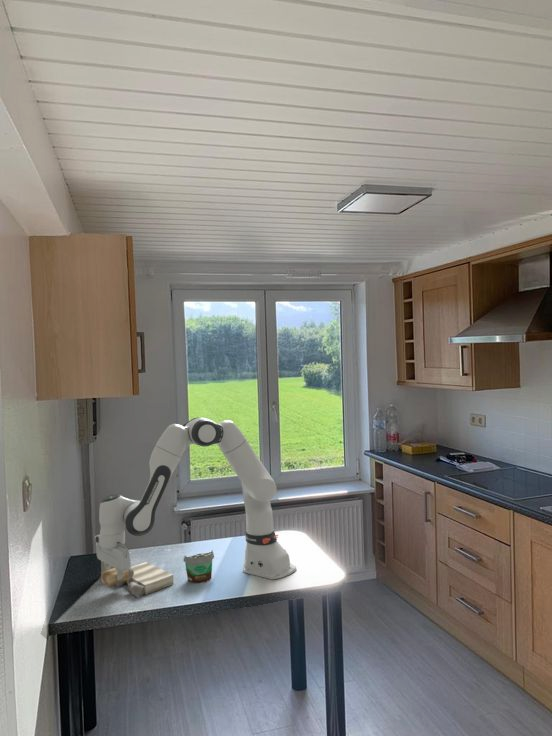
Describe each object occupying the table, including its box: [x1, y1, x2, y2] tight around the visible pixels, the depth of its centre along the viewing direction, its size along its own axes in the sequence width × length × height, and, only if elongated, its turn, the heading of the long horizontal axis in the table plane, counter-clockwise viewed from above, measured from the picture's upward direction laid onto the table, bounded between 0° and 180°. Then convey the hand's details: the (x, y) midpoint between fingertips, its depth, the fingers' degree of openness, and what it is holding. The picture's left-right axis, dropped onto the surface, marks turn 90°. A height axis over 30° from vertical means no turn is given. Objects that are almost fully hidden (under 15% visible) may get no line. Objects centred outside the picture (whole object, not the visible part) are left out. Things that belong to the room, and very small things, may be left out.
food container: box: [183, 550, 215, 584], centre depth 198 cm, size 12×6×10 cm, turn 117°
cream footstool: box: [115, 561, 174, 598], centre depth 197 cm, size 20×16×4 cm
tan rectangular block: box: [100, 568, 134, 587], centre depth 190 cm, size 6×10×4 cm, turn 135°
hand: (113, 576), depth 189 cm, fingers closed on tan rectangular block, 6 cm apart
